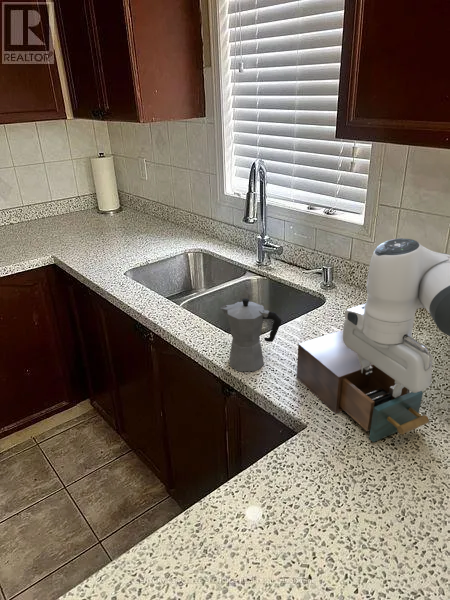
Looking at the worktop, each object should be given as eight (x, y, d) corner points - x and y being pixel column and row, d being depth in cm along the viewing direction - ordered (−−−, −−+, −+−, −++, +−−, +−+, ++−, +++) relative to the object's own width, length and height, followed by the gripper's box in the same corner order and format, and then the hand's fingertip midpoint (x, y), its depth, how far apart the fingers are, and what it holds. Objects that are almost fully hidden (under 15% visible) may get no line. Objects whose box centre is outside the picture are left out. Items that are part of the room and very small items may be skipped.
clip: (378, 402, 95) (381, 385, 93) (389, 410, 92) (392, 393, 91) (360, 409, 93) (362, 393, 91) (370, 418, 91) (372, 401, 89)
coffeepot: (215, 366, 112) (211, 303, 104) (229, 347, 120) (227, 287, 112) (274, 380, 106) (275, 313, 98) (285, 359, 114) (287, 295, 106)
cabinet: (380, 396, 100) (386, 360, 96) (335, 414, 95) (338, 377, 91) (338, 363, 112) (341, 330, 107) (296, 377, 107) (298, 343, 103)
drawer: (434, 436, 87) (441, 405, 84) (389, 457, 83) (395, 425, 79) (370, 386, 101) (374, 358, 98) (329, 402, 97) (332, 372, 94)
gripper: (446, 345, 76) (433, 408, 83) (363, 300, 93) (358, 355, 99) (419, 356, 74) (408, 420, 80) (339, 307, 91) (335, 363, 97)
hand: (380, 384), depth 90 cm, fingers open, 6 cm apart
